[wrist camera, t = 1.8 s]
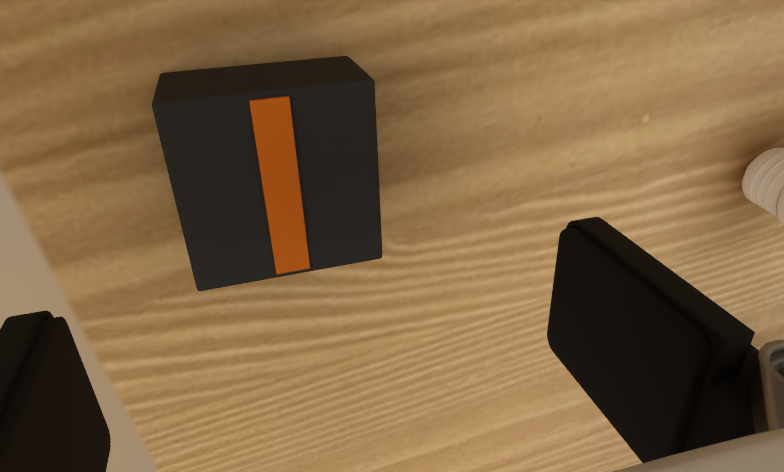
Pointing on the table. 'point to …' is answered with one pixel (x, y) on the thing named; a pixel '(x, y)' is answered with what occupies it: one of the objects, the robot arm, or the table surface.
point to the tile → (272, 167)
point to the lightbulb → (766, 182)
